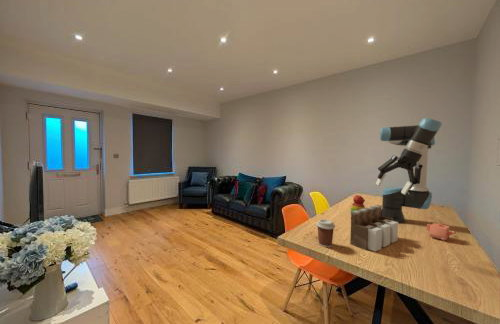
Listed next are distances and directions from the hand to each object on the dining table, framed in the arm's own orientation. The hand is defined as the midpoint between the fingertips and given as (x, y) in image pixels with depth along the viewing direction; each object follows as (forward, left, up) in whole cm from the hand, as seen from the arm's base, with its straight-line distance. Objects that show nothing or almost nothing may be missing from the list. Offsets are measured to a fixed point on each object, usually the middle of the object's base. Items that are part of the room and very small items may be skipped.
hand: (390, 189), depth 103 cm
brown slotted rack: (+2, -7, -29) cm, 30 cm away
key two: (+2, -3, -29) cm, 29 cm away
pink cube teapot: (-34, +12, -29) cm, 47 cm away
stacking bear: (-26, -30, -29) cm, 50 cm away
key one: (-7, -3, -29) cm, 30 cm away
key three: (+11, -3, -29) cm, 31 cm away
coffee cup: (+27, -18, -29) cm, 44 cm away
